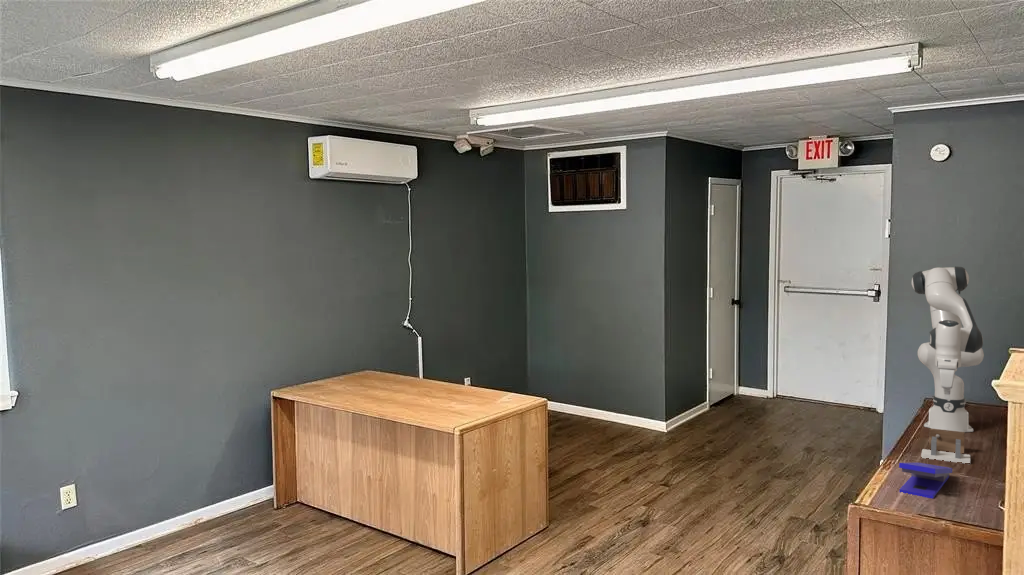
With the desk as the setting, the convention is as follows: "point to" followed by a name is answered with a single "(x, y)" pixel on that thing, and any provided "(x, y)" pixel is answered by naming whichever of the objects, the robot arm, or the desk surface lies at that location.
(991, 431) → the desk surface
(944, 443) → the door panel
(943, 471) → the blue stacked plate part
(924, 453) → the white and grey rack
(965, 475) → the desk surface
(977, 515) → the desk surface
